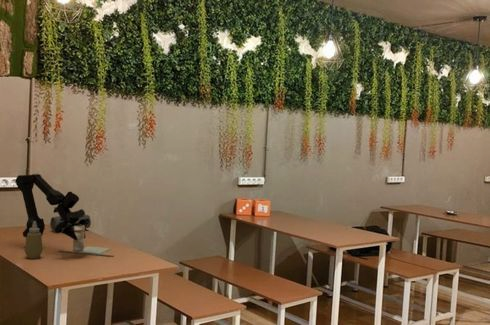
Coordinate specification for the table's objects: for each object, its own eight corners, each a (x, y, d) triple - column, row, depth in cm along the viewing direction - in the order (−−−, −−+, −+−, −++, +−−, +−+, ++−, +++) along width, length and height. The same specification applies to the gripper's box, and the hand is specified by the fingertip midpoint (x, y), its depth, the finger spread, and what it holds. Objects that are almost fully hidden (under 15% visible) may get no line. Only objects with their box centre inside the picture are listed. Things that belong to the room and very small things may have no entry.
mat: (99, 254, 269) (99, 253, 269) (76, 251, 271) (76, 251, 271) (110, 249, 282) (110, 248, 282) (88, 247, 284) (88, 246, 284)
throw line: (58, 251, 270) (58, 251, 270) (60, 250, 272) (60, 250, 272) (112, 257, 265) (112, 256, 265) (114, 256, 267) (114, 255, 267)
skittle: (74, 253, 256) (75, 227, 256) (71, 251, 261) (72, 225, 260) (85, 252, 259) (86, 226, 259) (81, 250, 263) (82, 224, 263)
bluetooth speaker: (84, 228, 336) (84, 213, 336) (90, 230, 329) (91, 215, 329) (49, 231, 321) (49, 215, 320) (55, 234, 314) (56, 217, 314)
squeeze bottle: (25, 260, 250) (26, 222, 249) (23, 256, 257) (25, 220, 256) (43, 259, 253) (44, 222, 252) (41, 255, 260) (42, 219, 260)
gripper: (59, 206, 252) (75, 231, 248) (88, 202, 269) (103, 226, 264) (47, 220, 256) (62, 245, 252) (76, 215, 273) (91, 239, 268)
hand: (80, 239), depth 259 cm, fingers closed on skittle, 5 cm apart
